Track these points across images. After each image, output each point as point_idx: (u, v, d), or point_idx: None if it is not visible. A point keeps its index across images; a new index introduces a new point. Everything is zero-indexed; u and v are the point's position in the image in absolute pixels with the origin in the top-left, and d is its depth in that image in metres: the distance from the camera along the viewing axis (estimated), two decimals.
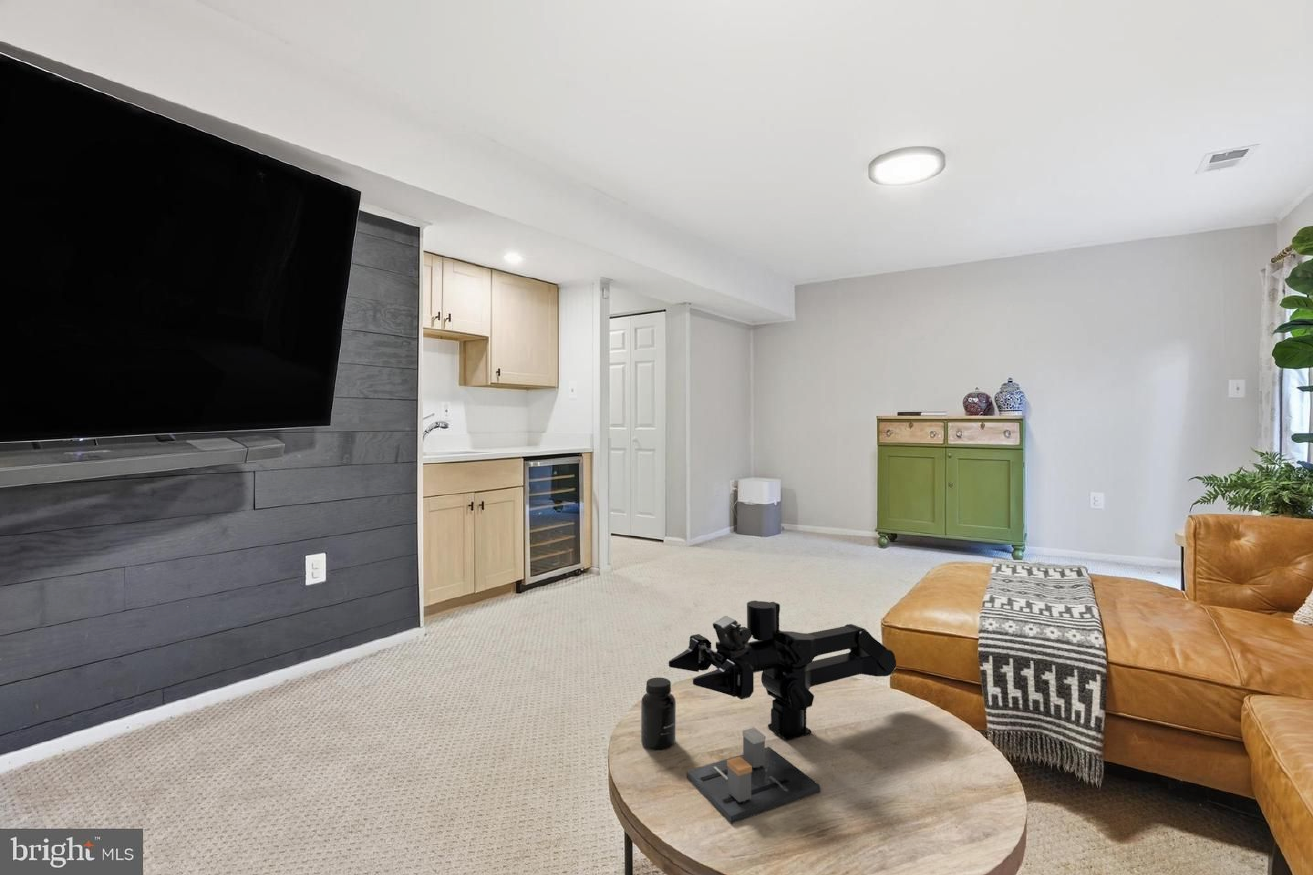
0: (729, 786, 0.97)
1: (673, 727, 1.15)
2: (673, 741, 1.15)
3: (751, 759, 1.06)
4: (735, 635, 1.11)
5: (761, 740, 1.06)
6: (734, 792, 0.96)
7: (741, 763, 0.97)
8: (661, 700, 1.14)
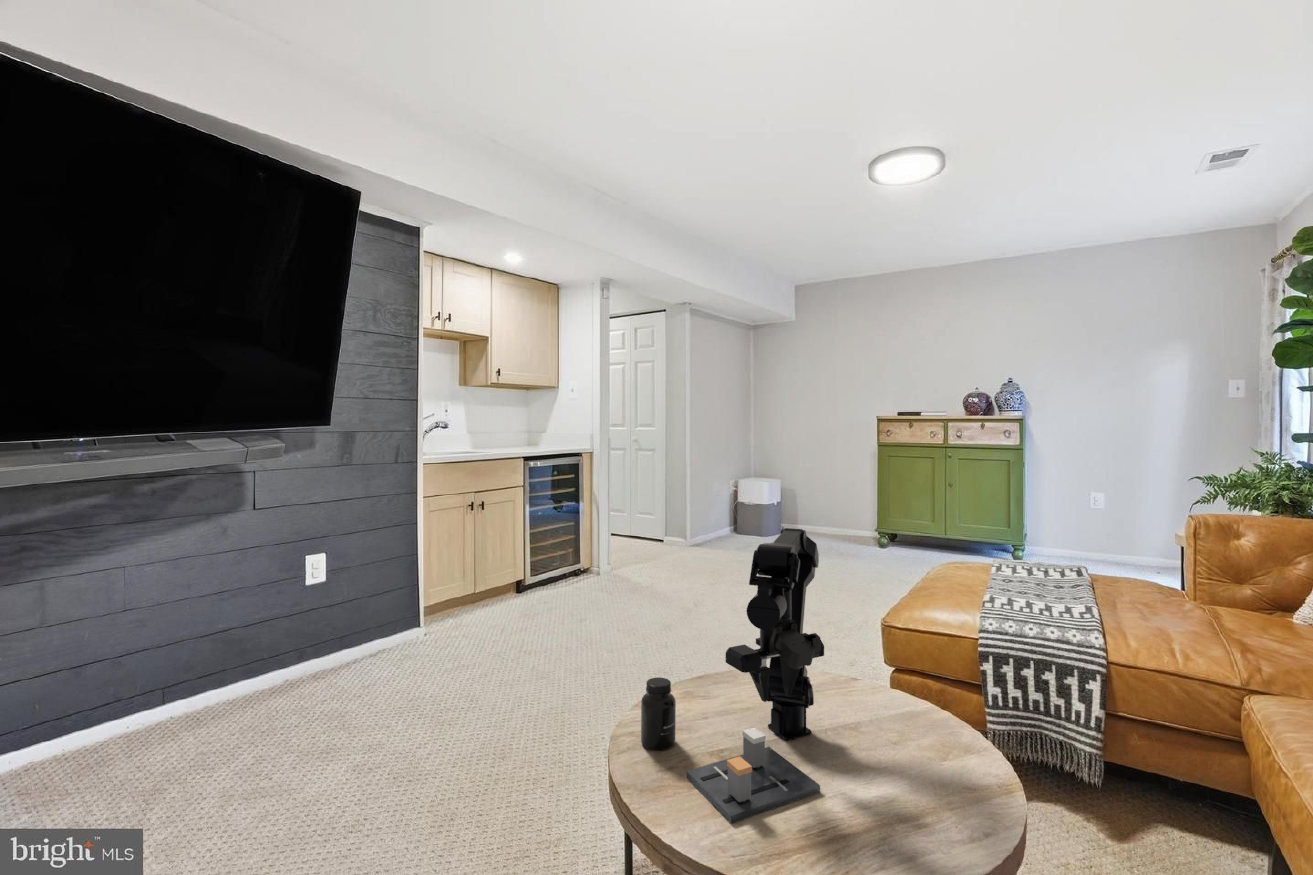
0: (729, 786, 0.97)
1: (673, 727, 1.15)
2: (673, 741, 1.15)
3: (751, 759, 1.06)
4: None
5: (761, 740, 1.06)
6: (734, 792, 0.96)
7: (741, 763, 0.97)
8: (661, 700, 1.14)
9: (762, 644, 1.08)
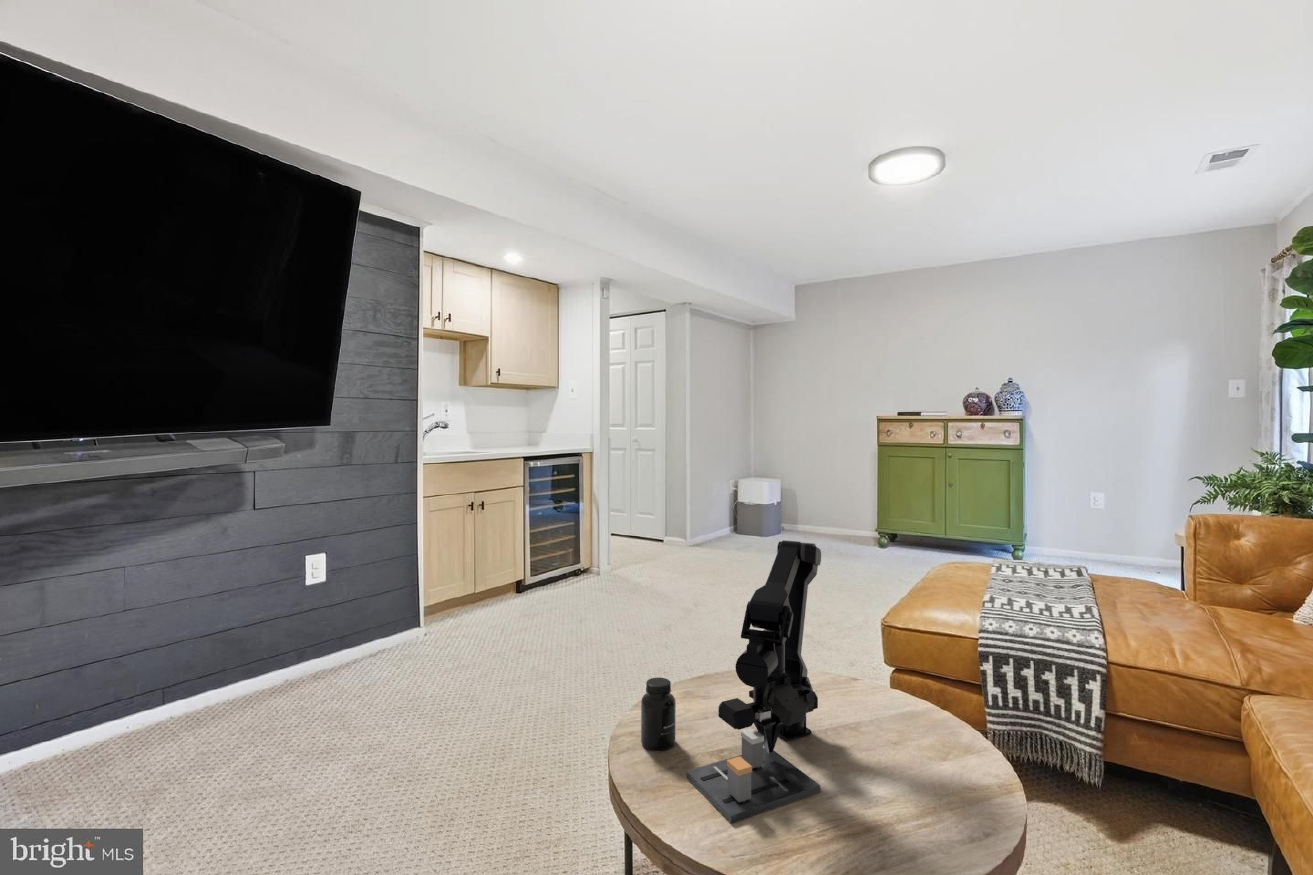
0: (729, 786, 0.97)
1: (673, 727, 1.15)
2: (673, 741, 1.15)
3: (749, 759, 1.05)
4: None
5: (759, 740, 1.05)
6: (734, 792, 0.96)
7: (741, 763, 0.97)
8: (661, 700, 1.14)
9: (755, 698, 1.07)
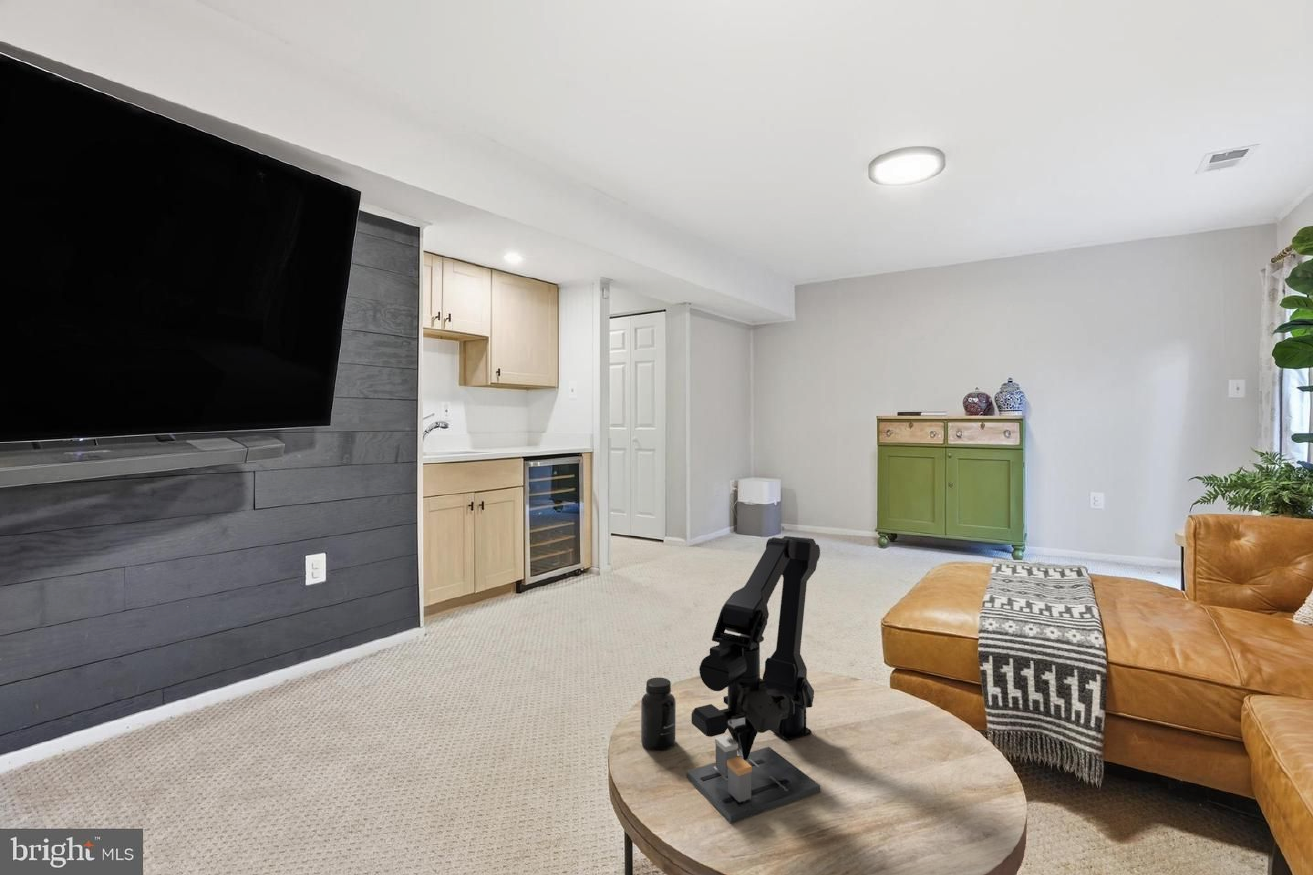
0: (729, 786, 0.97)
1: (673, 727, 1.15)
2: (673, 741, 1.15)
3: (723, 767, 1.03)
4: None
5: (733, 748, 1.03)
6: (734, 792, 0.96)
7: (741, 763, 0.97)
8: (661, 700, 1.14)
9: (729, 704, 1.05)
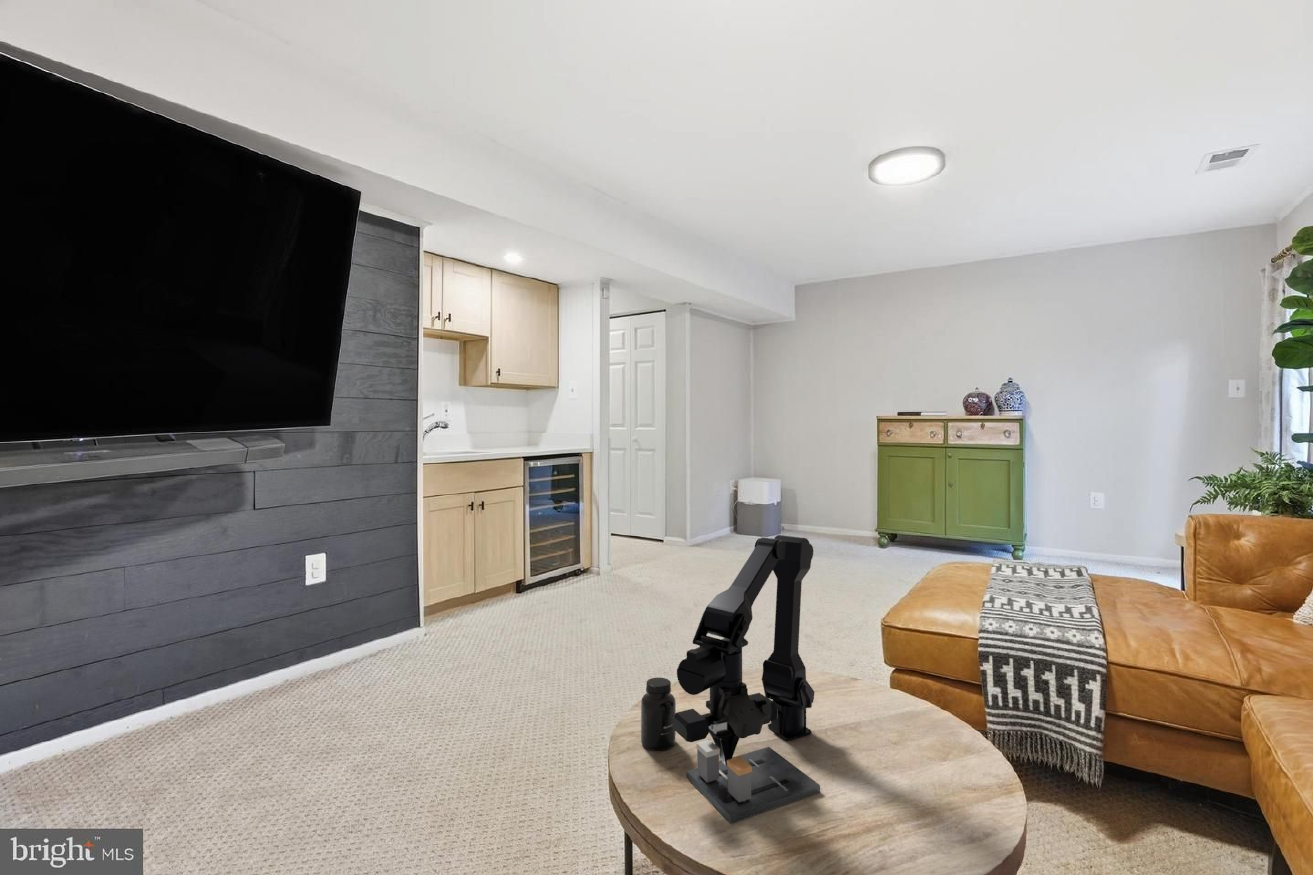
0: (729, 786, 0.97)
1: None
2: (673, 741, 1.15)
3: (704, 773, 1.01)
4: None
5: (715, 753, 1.01)
6: (734, 792, 0.96)
7: (741, 763, 0.97)
8: (661, 699, 1.14)
9: (711, 708, 1.03)
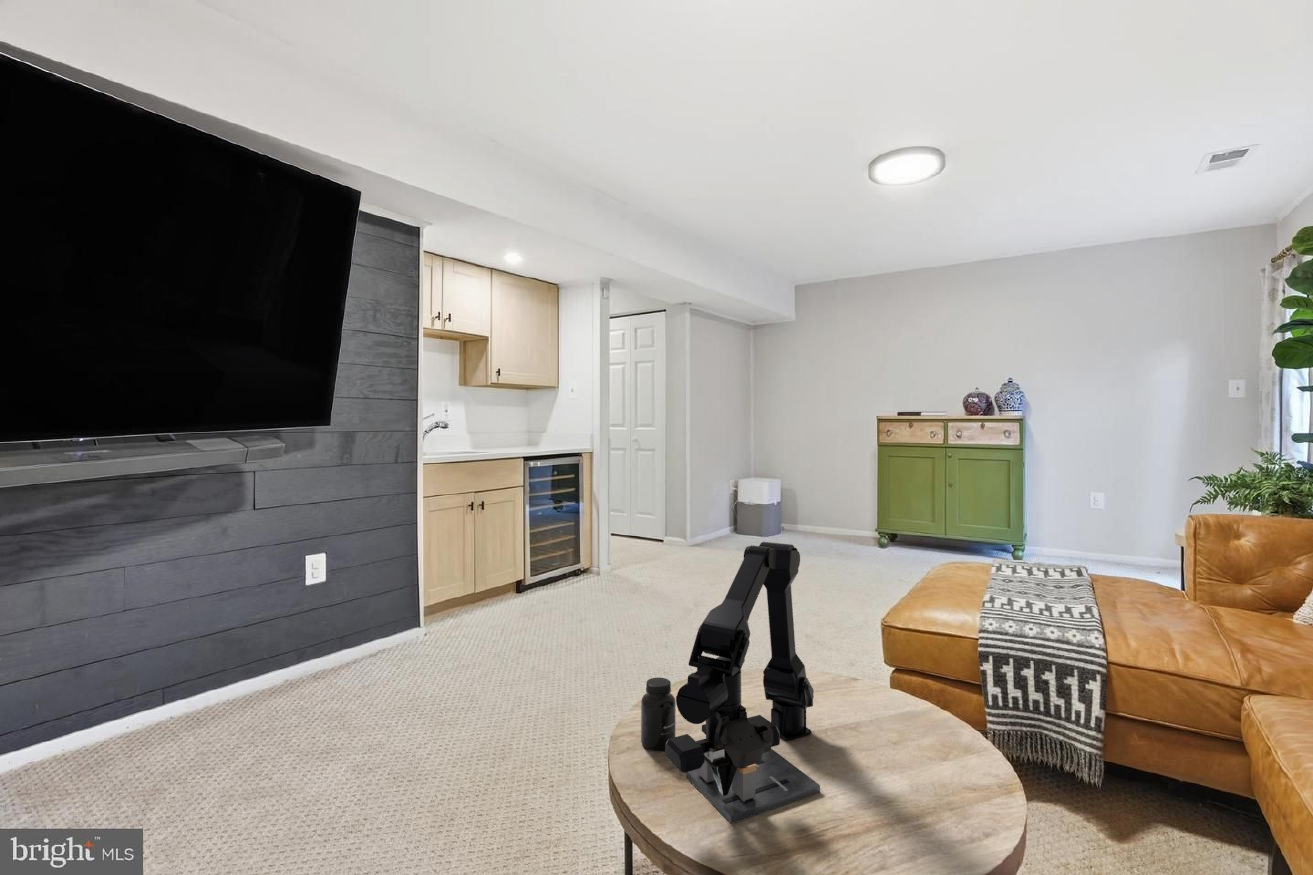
0: (733, 785, 0.98)
1: (673, 727, 1.15)
2: None
3: (704, 773, 1.01)
4: None
5: None
6: (738, 791, 0.97)
7: None
8: (661, 700, 1.14)
9: (707, 734, 0.95)
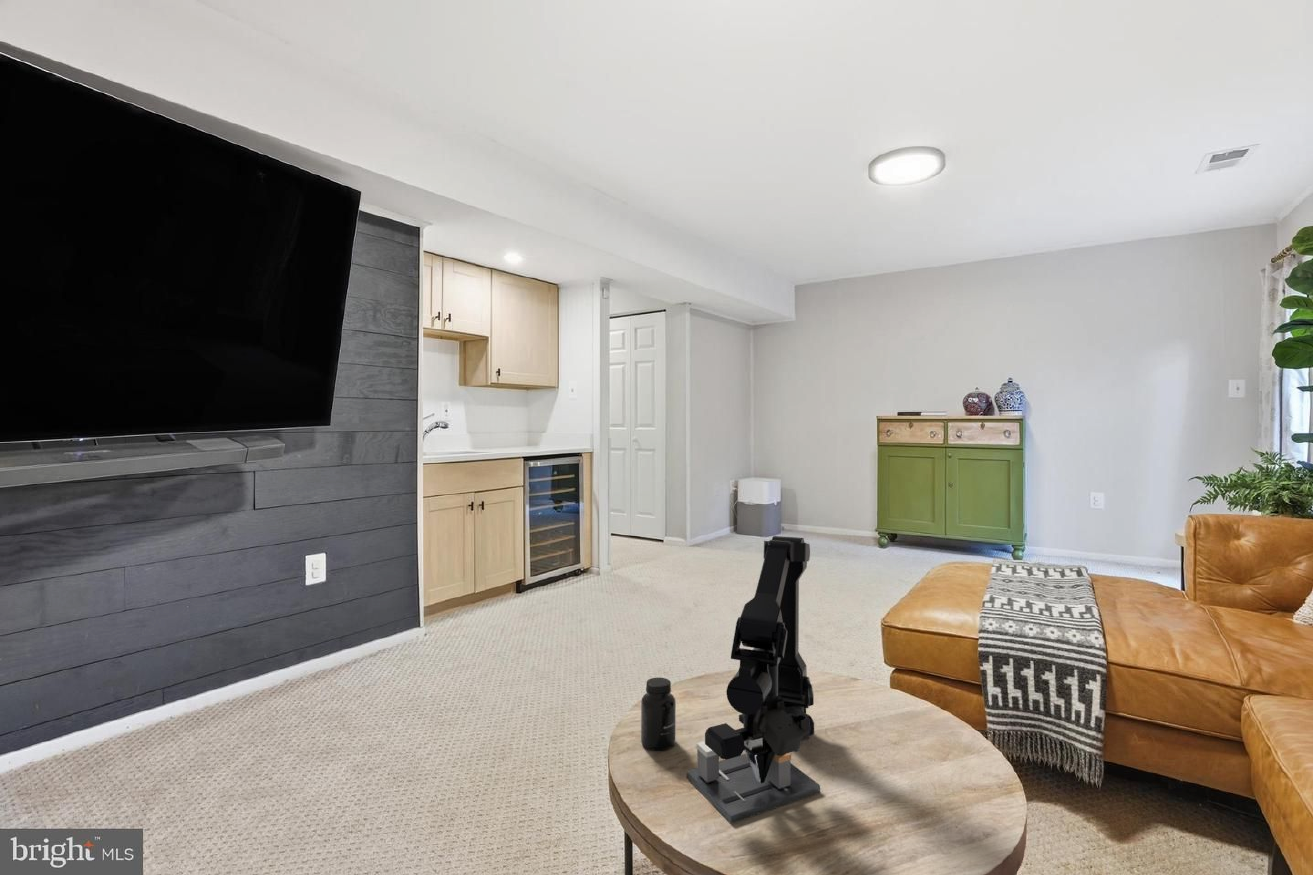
0: (768, 773, 1.01)
1: (673, 727, 1.15)
2: (673, 741, 1.15)
3: (704, 773, 1.01)
4: None
5: (715, 753, 1.01)
6: (773, 779, 1.00)
7: None
8: (661, 700, 1.14)
9: (745, 723, 0.98)
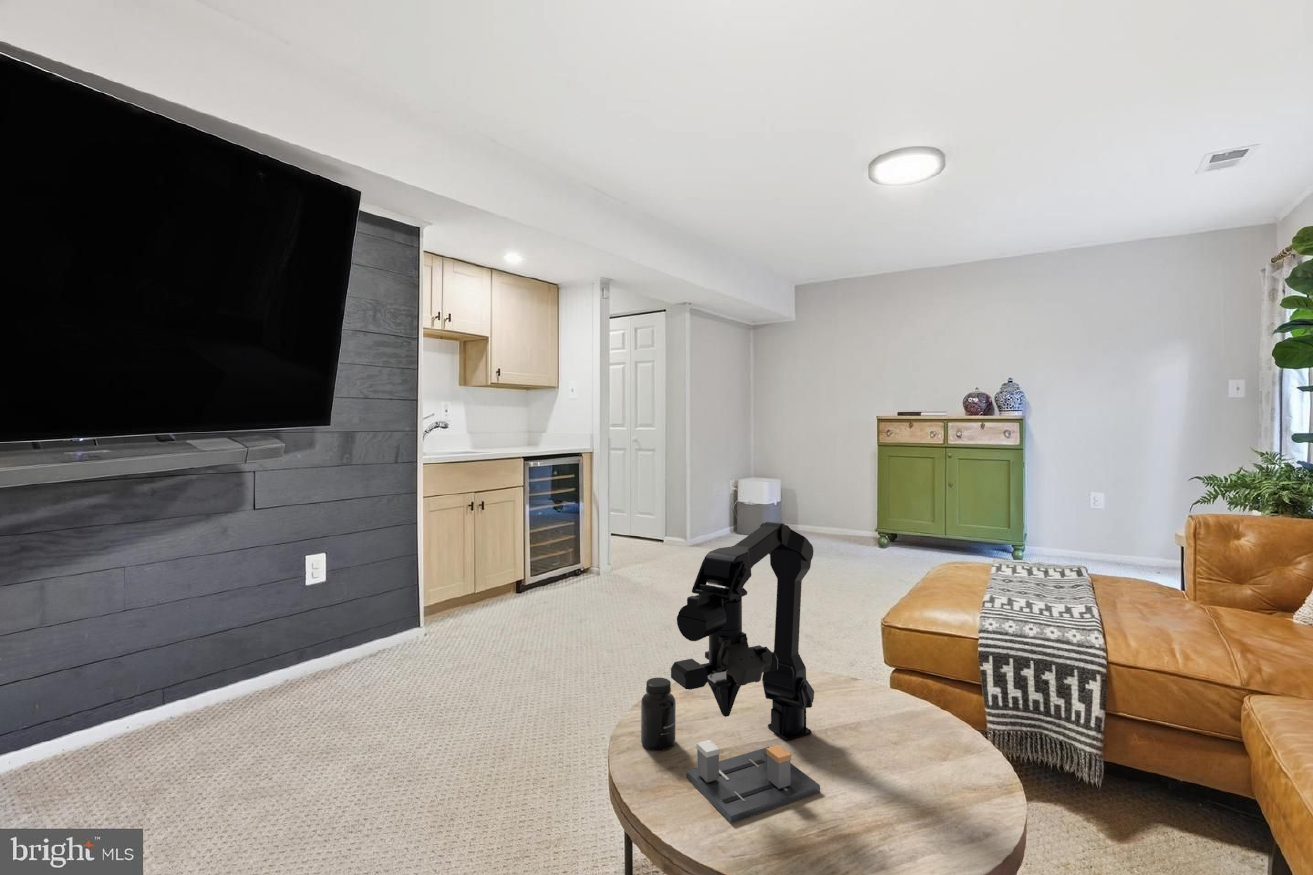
0: (769, 773, 1.01)
1: (673, 727, 1.15)
2: (673, 741, 1.15)
3: (704, 773, 1.01)
4: None
5: (715, 753, 1.01)
6: (773, 779, 1.00)
7: (780, 751, 1.00)
8: (661, 700, 1.14)
9: (710, 658, 1.01)
